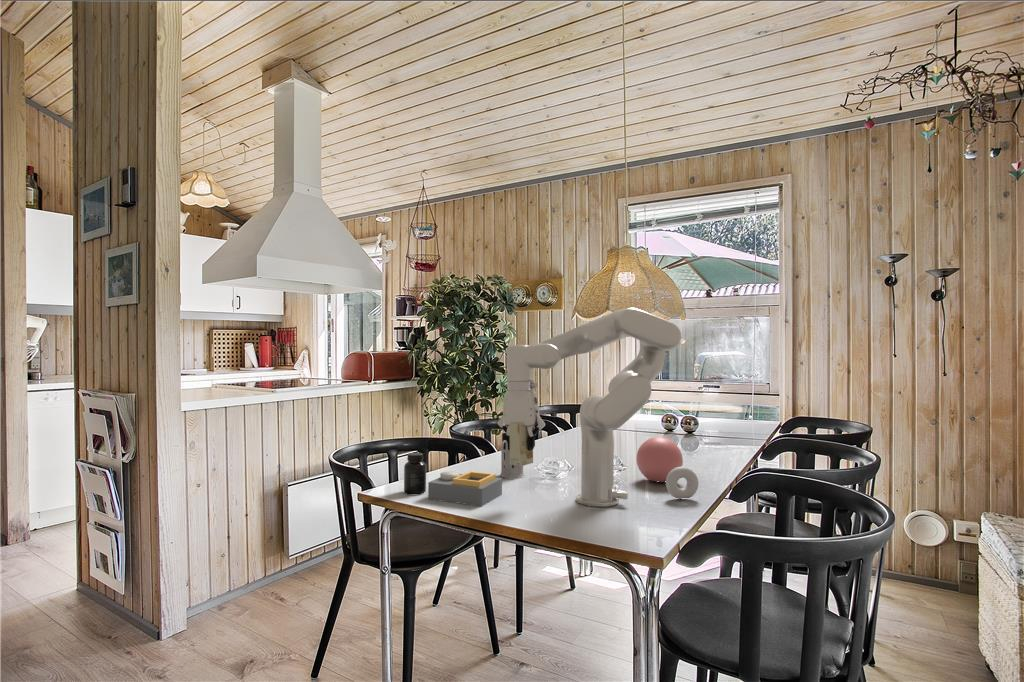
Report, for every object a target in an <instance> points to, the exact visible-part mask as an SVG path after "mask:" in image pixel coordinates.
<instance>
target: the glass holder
mask: <svg viewBox="0 0 1024 682" xmlns="http://www.w3.org/2000/svg"><path fill="white" fill-rule="evenodd" d="M500 453H501V462H500V463H501V467H500V469H501V471H500V475H499V476H502V477H501V478H503V477H506V478H505V479H509V478H516V479H519V478H518V477H522V476H524V477H525V474H524V466H516V465H510V449H509V446H508V436H507V435H506V432H502V434H501V448H500ZM522 478H523V477H522Z"/></svg>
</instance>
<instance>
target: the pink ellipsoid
mask: <svg viewBox="0 0 1024 682" xmlns="http://www.w3.org/2000/svg"><path fill="white" fill-rule="evenodd" d="M683 463H684V460H683V454H682V452H681V449H680V448H679V446H678V445H677V444H676V442H674V441H672V440H671V439H669V438H666V437H662V436H654V437H651V438H648V439H646V440H645V441H643V442H642V443H641V445H640V446H639V448H638V450H637V453H636V465H637V468H638V470H639V472H640V473H641V474H642V475H643V476H644V477H645V478H646V480H647V479H648V480H649V481H651V480H652V481H651V482H653V481H659V482H664V483H666V482H665V481H666V478H667V476H668V474H669V472H670V471H671V470H672V469H674V468H676V467H683Z"/></svg>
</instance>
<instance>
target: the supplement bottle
mask: <svg viewBox="0 0 1024 682" xmlns="http://www.w3.org/2000/svg"><path fill="white" fill-rule="evenodd" d="M403 477H404V478H403V492H404V494H406V493H407V494H406V495H409V494H418V495H422V494H421V493H423V494H424V492H425V493H426V491H427V464H426V462H424V453H422V452H410V453H409V452H408V454H407V462H406V463H405V464H404V466H403Z"/></svg>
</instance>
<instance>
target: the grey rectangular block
mask: <svg viewBox="0 0 1024 682" xmlns="http://www.w3.org/2000/svg"><path fill="white" fill-rule="evenodd" d="M496 476H497V475H496V473H489V472H478V471H472V470H471V471H468V472H465V473H460V472H459V471H443V472H440V477H438V478H435V479H433V480H431V481H428V483H427V484H428V488H427V489H428V492H427V493H428V494H427V496H428V497H427V499H428V498H429V499H428V500H432V499H435V500H434V501H439V500H442V501H441V502H447V501H451V502H450V503H454V502H459V503H458V504H461V503H465V504H464V505H469V504H472V505H471V506H476V505H478V506H477V507H483V506H484V505H487V504H488V503H490V502H492V501H493V500H496V499H497V498H499V497H500V496H502V495H503V477H496ZM486 503H487V504H486Z"/></svg>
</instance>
